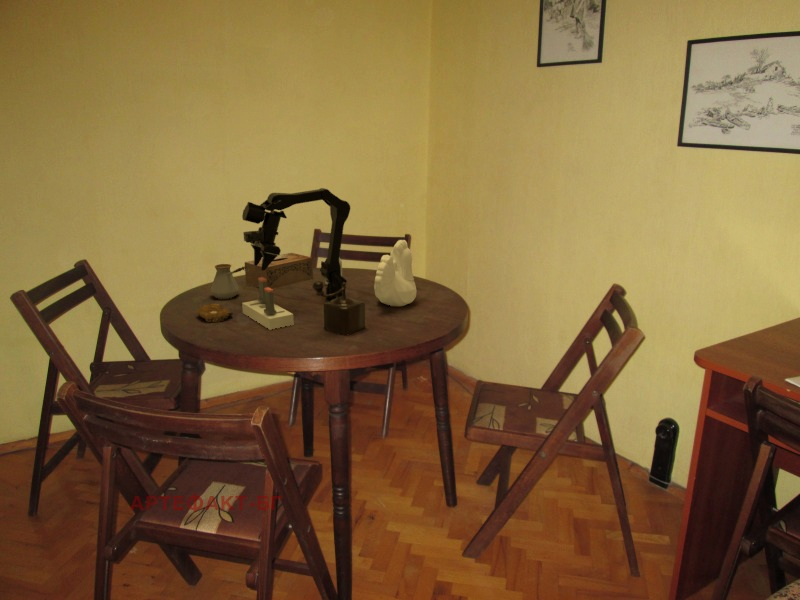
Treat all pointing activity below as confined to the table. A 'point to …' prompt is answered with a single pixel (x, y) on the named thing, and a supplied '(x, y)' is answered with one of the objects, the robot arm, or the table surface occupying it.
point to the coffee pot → (225, 282)
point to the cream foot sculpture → (396, 277)
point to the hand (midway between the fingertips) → (259, 267)
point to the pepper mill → (341, 311)
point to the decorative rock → (214, 313)
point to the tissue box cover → (281, 270)
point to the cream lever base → (269, 321)
